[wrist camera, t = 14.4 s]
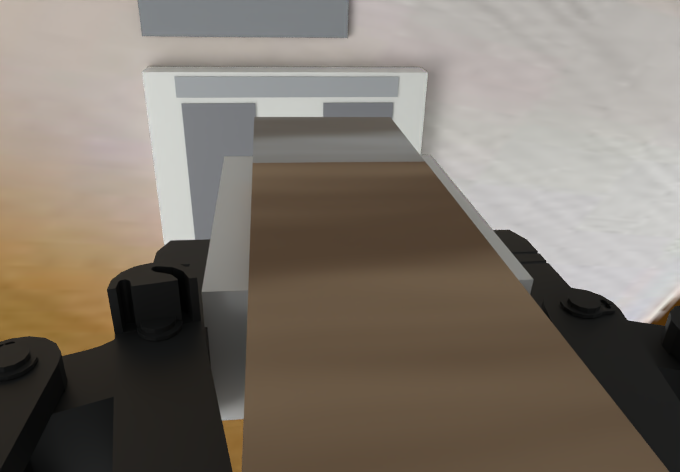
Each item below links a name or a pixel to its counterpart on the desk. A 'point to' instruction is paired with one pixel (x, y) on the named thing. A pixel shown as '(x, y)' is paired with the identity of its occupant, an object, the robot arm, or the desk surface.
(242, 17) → the mat
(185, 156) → the switch board
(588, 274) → the desk surface
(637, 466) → the wooden beam block
